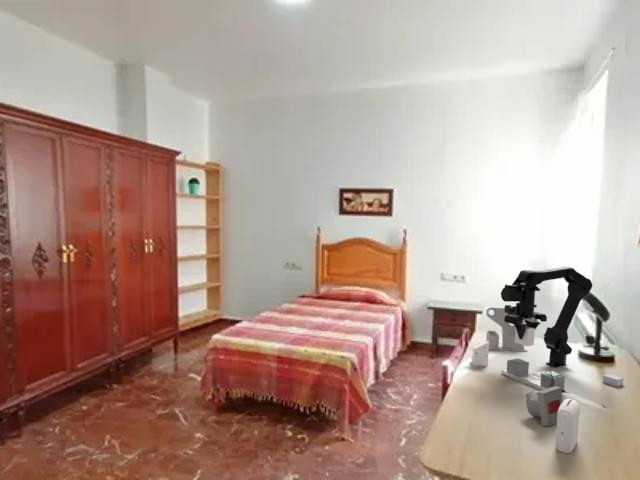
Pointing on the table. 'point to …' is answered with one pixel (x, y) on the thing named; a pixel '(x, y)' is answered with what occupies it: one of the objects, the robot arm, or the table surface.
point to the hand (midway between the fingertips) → (524, 338)
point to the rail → (520, 372)
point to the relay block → (613, 380)
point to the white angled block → (481, 354)
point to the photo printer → (567, 425)
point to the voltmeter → (545, 403)
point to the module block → (526, 337)
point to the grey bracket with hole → (503, 333)
